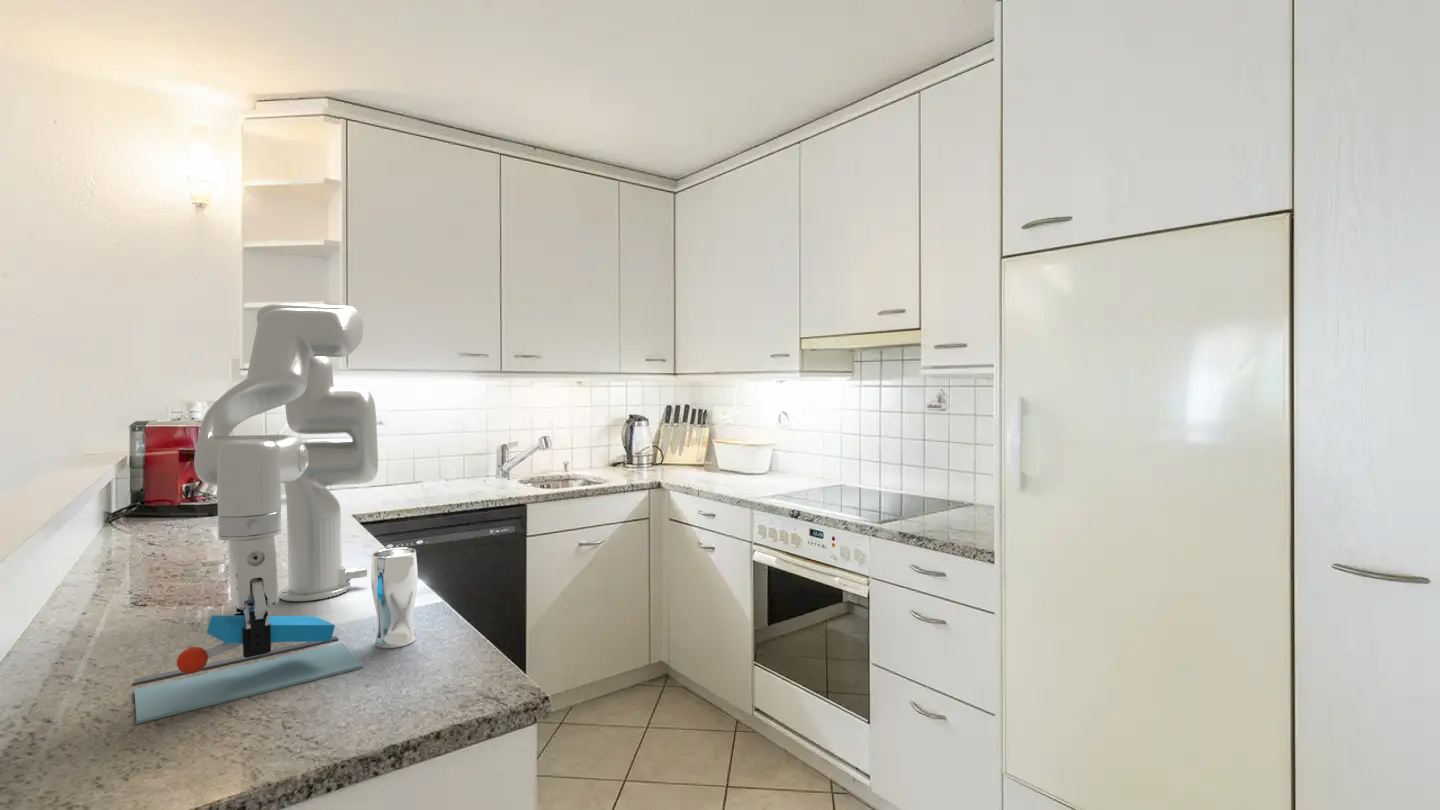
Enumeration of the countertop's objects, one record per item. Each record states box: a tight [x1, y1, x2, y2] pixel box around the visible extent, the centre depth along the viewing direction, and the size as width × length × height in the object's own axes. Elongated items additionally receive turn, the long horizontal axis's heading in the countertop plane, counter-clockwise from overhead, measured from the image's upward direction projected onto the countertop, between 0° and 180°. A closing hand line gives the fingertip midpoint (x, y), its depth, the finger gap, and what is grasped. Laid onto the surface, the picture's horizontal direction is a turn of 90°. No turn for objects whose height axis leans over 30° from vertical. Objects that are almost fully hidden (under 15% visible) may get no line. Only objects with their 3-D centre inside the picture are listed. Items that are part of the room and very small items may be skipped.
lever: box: [176, 614, 336, 675], centre depth 100 cm, size 7×7×18 cm
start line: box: [133, 635, 339, 686], centre depth 107 cm, size 26×2×1 cm, turn 131°
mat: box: [134, 643, 364, 725], centre depth 100 cm, size 26×12×1 cm, turn 131°
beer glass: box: [370, 547, 419, 649], centre depth 114 cm, size 7×7×15 cm
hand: (252, 645), depth 99 cm, fingers closed on lever, 7 cm apart
